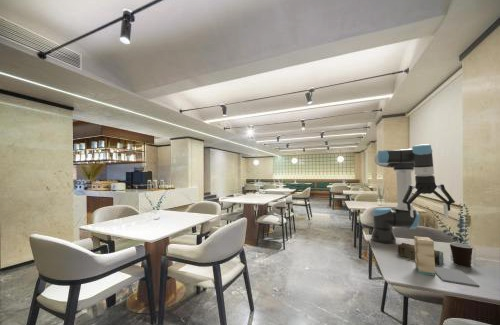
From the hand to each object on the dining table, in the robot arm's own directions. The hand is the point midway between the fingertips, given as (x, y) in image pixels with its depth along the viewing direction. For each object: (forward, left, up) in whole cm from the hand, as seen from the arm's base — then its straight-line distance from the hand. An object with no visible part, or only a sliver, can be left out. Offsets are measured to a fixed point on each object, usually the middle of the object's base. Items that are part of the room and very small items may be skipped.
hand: (428, 217), depth 105 cm
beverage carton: (-17, 0, -27) cm, 31 cm away
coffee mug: (-17, +19, -27) cm, 37 cm away
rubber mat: (+3, +7, -26) cm, 27 cm away
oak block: (+3, -3, -26) cm, 27 cm away
